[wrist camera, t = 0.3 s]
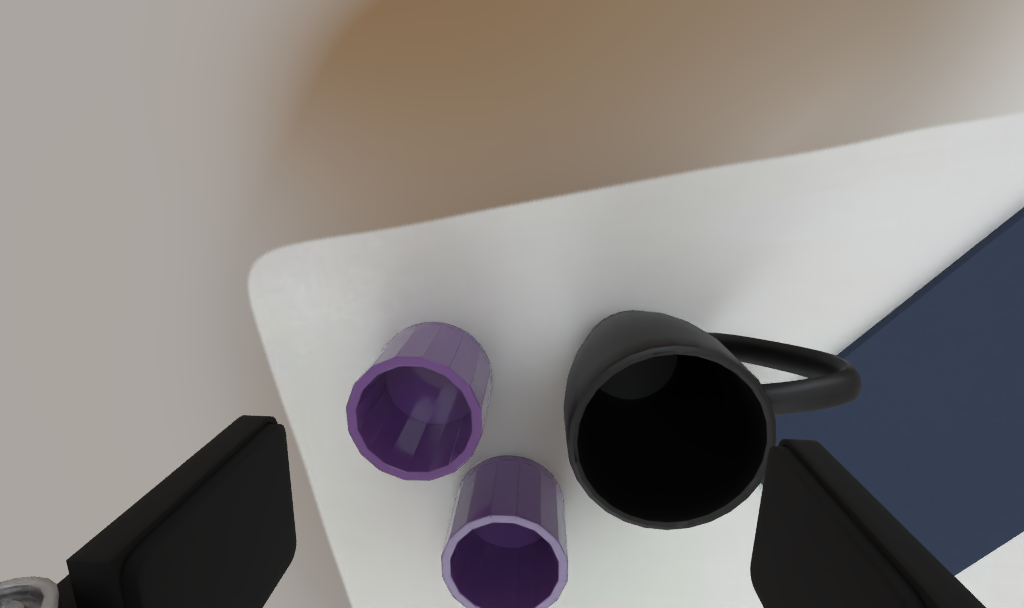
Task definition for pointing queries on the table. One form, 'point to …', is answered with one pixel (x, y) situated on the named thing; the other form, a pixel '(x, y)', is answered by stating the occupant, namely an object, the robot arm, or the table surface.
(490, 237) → the table surface
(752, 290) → the table surface
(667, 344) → the mug
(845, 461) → the placemat
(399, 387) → the ramekin
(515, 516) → the ramekin
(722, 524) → the table surface
